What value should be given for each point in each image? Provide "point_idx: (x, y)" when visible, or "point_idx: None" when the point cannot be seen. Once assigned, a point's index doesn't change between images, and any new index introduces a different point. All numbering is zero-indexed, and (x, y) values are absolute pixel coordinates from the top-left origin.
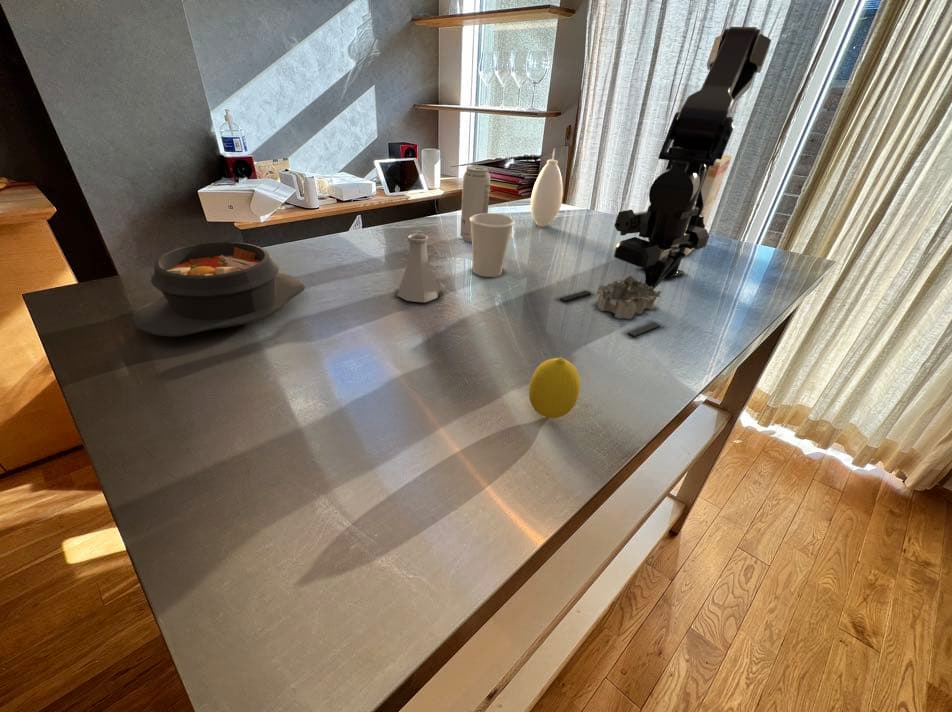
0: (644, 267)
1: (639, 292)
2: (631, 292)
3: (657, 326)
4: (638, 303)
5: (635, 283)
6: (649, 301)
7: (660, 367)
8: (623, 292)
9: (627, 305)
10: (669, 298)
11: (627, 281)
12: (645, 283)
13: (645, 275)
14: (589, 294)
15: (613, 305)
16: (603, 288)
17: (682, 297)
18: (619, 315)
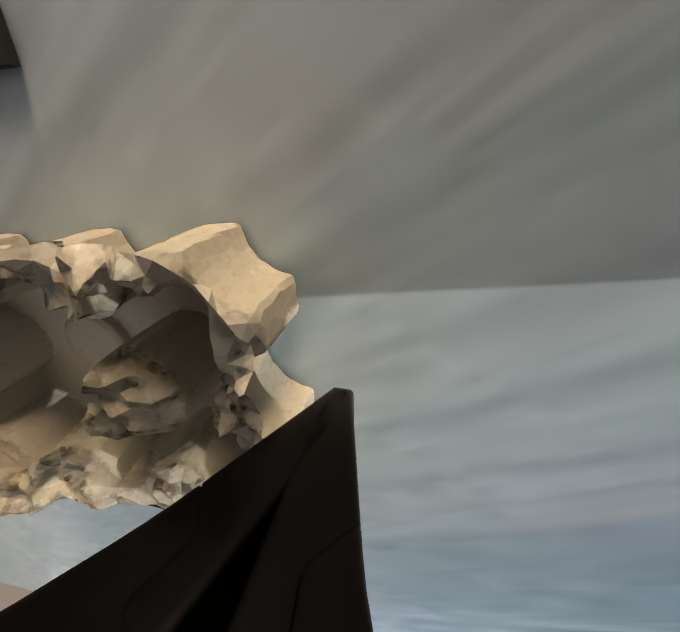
0: (106, 549)
1: (150, 433)
2: (90, 403)
3: (154, 505)
4: (110, 448)
5: (246, 336)
6: (227, 455)
7: (39, 548)
8: (232, 242)
9: (5, 445)
10: (533, 447)
11: (168, 285)
12: (295, 416)
13: (222, 473)
14: (8, 67)
15: (9, 353)
16: None
17: (641, 495)
18: (38, 392)
